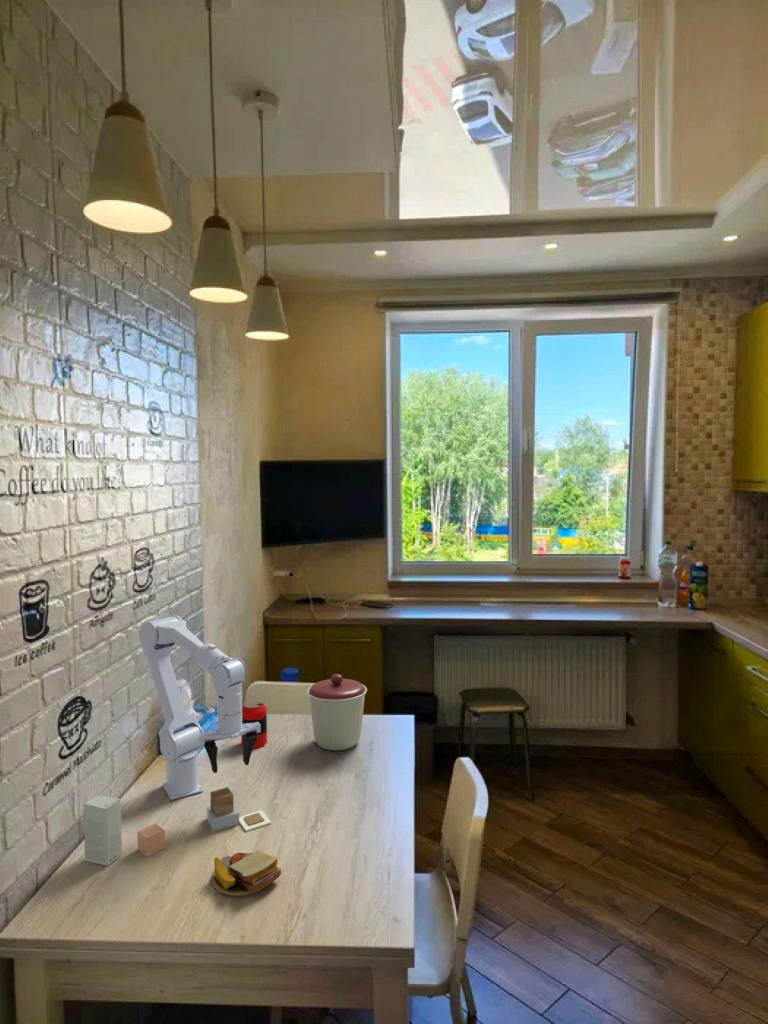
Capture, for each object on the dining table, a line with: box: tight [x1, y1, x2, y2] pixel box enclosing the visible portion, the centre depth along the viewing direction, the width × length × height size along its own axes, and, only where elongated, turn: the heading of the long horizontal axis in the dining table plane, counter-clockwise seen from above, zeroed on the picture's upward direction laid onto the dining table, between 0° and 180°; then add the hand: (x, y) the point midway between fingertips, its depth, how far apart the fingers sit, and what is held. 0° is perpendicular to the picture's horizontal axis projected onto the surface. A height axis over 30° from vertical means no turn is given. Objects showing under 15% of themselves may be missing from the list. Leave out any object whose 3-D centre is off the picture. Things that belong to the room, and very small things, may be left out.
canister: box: [306, 673, 368, 752], centre depth 177 cm, size 18×18×21 cm
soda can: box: [240, 700, 268, 749], centre depth 178 cm, size 8×8×12 cm
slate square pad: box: [206, 801, 240, 832], centre depth 135 cm, size 6×6×3 cm
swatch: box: [239, 809, 272, 832], centre depth 135 cm, size 6×6×1 cm
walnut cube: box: [209, 786, 234, 817], centre depth 135 cm, size 4×4×4 cm
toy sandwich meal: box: [210, 850, 282, 897], centre depth 115 cm, size 12×14×5 cm
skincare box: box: [83, 794, 123, 867], centre depth 122 cm, size 6×4×12 cm
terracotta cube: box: [136, 822, 166, 858], centre depth 125 cm, size 4×4×4 cm
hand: (230, 767), depth 141 cm, fingers open, 7 cm apart
